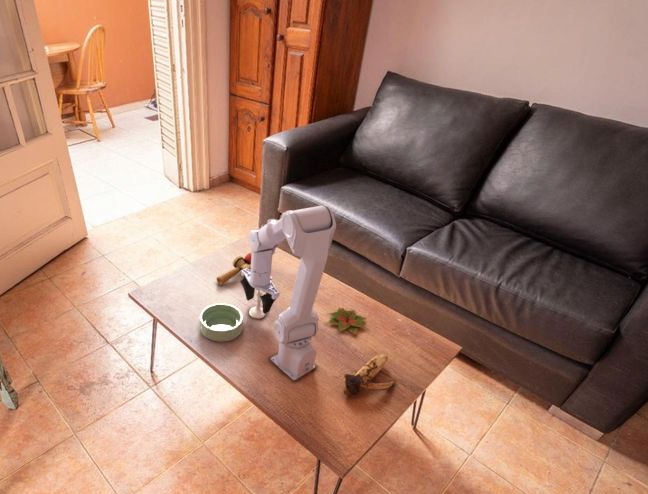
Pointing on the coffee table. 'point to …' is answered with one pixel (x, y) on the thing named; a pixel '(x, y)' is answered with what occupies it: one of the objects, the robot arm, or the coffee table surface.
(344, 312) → the succulent plant
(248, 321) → the coffee table surface
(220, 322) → the bowl
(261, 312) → the chess piece
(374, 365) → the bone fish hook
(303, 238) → the robot arm
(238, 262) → the kendama
